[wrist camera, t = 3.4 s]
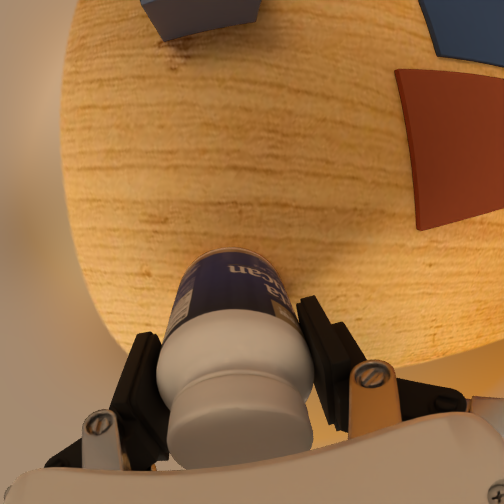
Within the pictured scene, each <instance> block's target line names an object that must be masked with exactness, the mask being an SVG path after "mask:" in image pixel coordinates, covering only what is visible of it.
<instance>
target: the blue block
mask: <svg viewBox="0 0 504 504" xmlns="http://www.w3.org/2000/svg"><path fill="white" fill-rule="evenodd" d="M140 2H141V6H142V7H143V9H144V10H145V12H146V14H147V15H148V17H149V18H150V20H151V22H152V23H153V25H154V27H155V28H156V30H157V31H158V33H159V35H160V36H161V38H162V40H163V41H168V40H171V39H175V38H179V37H182V36H186V35H190V34H194V33H199V32H203V31H207V30H212V29H217V28H222V27H227V26H232V25H238V24H244V23H251V22H256V18H257V14H258V11H259V7H260V3H261V0H140Z"/></svg>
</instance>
